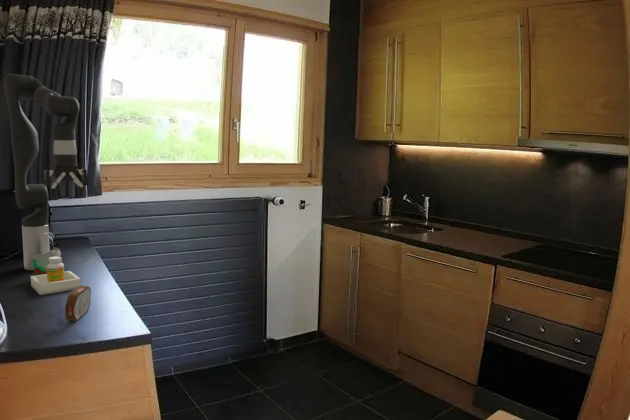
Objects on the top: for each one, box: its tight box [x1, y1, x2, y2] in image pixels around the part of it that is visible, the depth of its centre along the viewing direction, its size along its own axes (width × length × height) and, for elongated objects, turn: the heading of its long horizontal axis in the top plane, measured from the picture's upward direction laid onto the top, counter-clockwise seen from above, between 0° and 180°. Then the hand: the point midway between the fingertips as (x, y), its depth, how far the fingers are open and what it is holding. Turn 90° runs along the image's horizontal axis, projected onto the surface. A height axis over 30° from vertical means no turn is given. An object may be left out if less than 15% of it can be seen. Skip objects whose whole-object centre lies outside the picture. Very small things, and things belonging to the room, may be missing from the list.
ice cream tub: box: [31, 246, 62, 276], centre depth 200 cm, size 12×6×10 cm, turn 168°
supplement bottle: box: [47, 256, 65, 283], centre depth 187 cm, size 5×5×10 cm
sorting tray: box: [30, 270, 82, 296], centre depth 187 cm, size 13×13×4 cm
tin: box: [64, 284, 92, 322], centre depth 159 cm, size 15×3×8 cm, turn 5°
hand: (67, 198), depth 194 cm, fingers open, 8 cm apart
